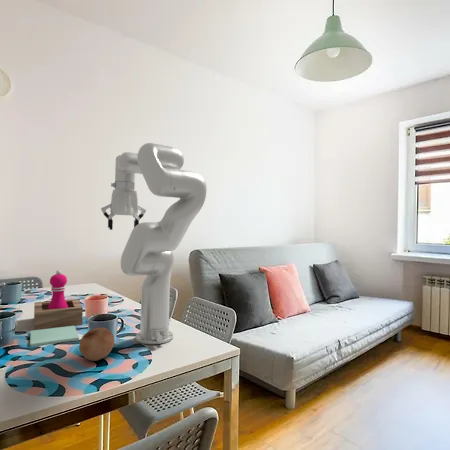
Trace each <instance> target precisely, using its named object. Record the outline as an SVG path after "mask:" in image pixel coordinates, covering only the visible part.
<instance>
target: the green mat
mask: <svg viewBox="0 0 450 450" xmlns="http://www.w3.org/2000/svg"><path fill="white" fill-rule="evenodd" d="M29 340H30V341H29V342H30V343H29V344H30V345H29V348H30V347H38V346H45V345H53V344H58V343H59V344H60V343H67V342H73V341H80V337H79V333H78V332H77V328H76V325H73V326H65V327H56V328H48V329H39V330H34V329H33V330H30V339H29Z"/></svg>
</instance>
